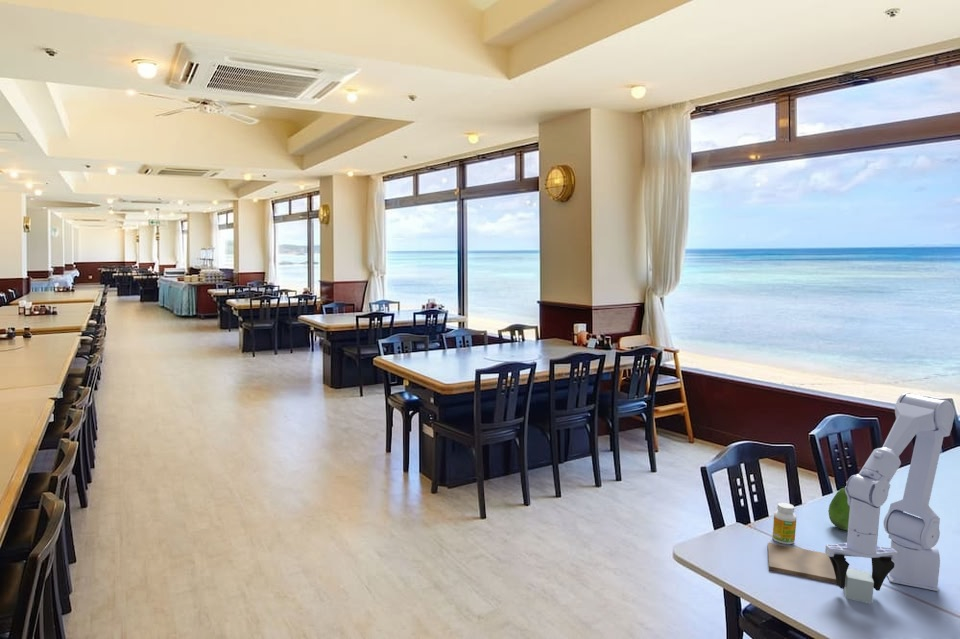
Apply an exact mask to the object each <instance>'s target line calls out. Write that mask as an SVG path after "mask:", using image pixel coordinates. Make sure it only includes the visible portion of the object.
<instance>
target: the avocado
mask: <svg viewBox="0 0 960 639" xmlns="http://www.w3.org/2000/svg"><path fill="white" fill-rule="evenodd" d="M847 501H848V498H847V495H846V493H845V487H842V488H840V489H839V490H838V491H837V492H836V494H835V495H834V496H833V498H832V500H831V501H830V504H829V505H828V517H829V520H830V522H831V523H832V524H833V525H834V526H835V527H836V528H837V529H839V530H844V531H848V523H849V511H850V506H849V505H848V503H847Z"/></svg>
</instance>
